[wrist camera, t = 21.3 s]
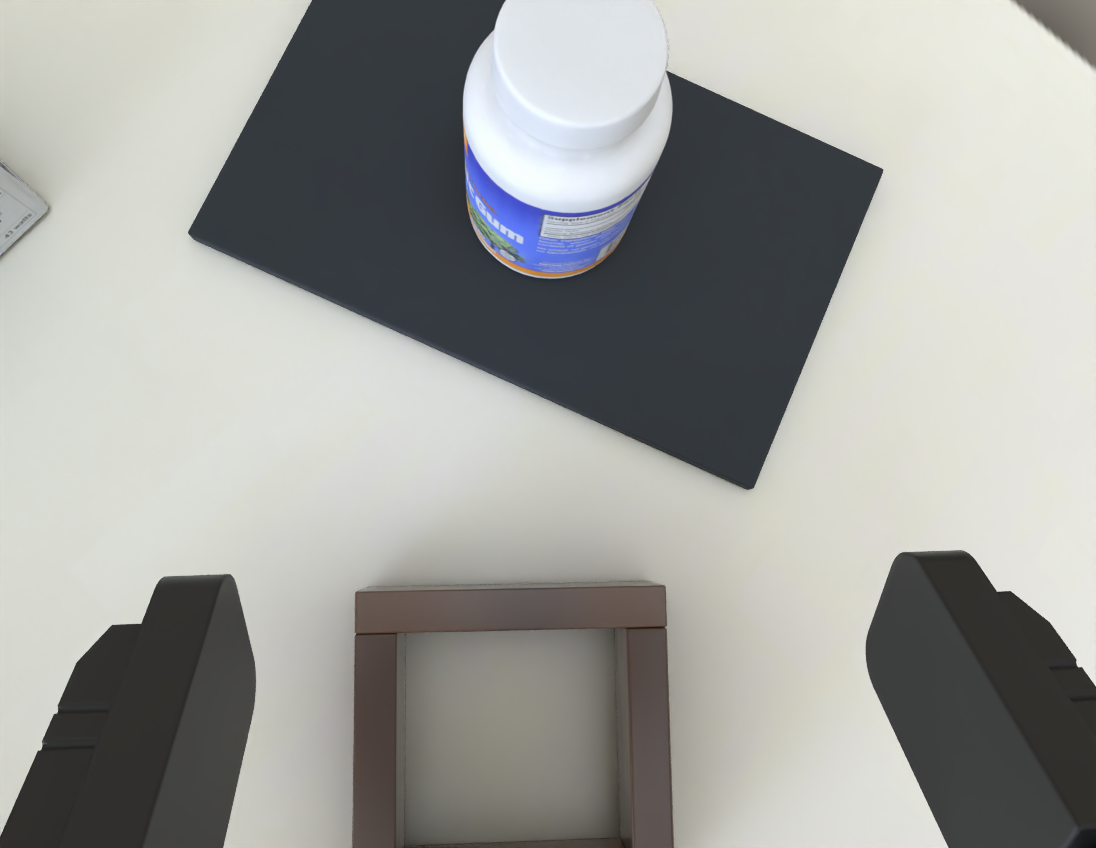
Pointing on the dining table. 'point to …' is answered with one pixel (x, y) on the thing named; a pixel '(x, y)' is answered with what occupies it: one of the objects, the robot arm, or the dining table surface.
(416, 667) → the dining table surface
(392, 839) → the walnut holder
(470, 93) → the pill bottle
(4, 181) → the light bulb box
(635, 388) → the rubber mat
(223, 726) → the robot arm
